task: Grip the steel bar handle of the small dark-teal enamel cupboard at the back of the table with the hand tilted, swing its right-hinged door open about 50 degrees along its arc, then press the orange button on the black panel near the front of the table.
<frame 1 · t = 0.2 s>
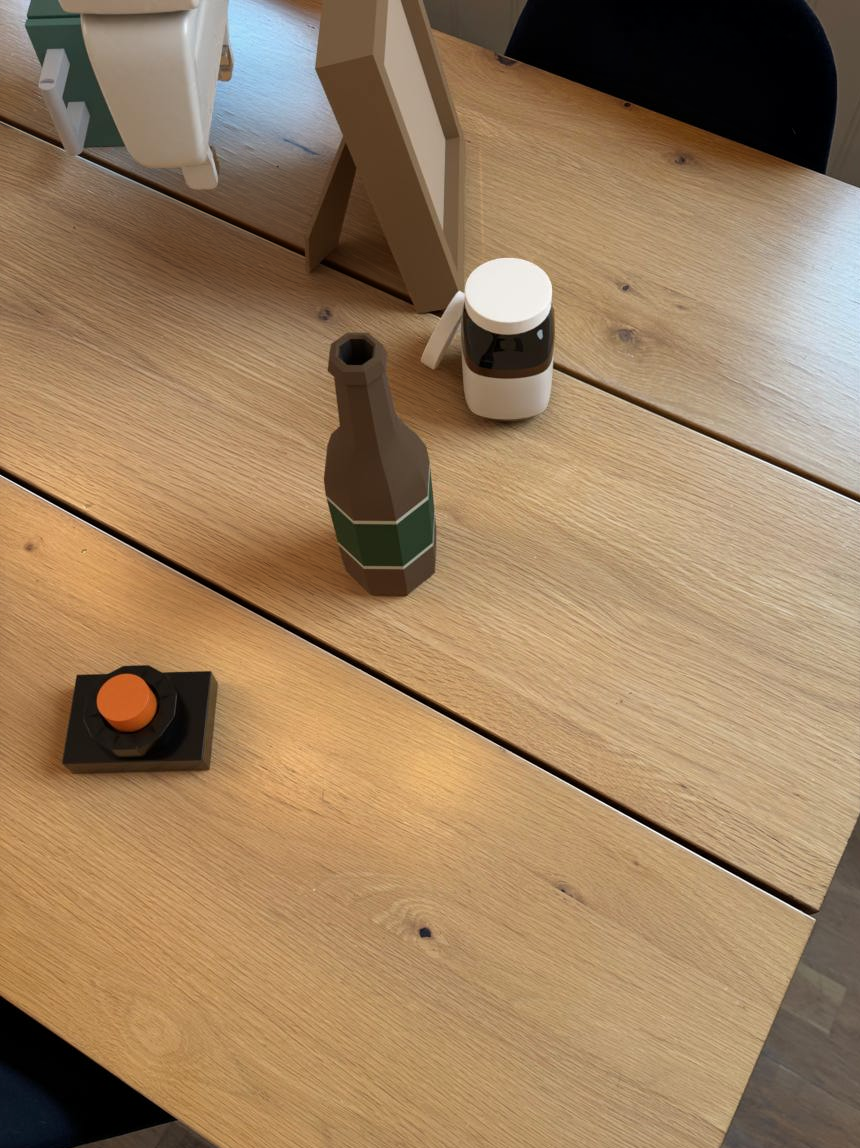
hand: (212, 125, 63), 30 cm above the table, tool pointing down, fingers open, 8 cm apart
minifridge: (146, 106, 110), on the table
spread jar: (486, 382, 92), on the table
beer bottle: (392, 560, 84), on the table
orange button: (127, 702, 74), point 5 cm above the table, slide at 0.1 cm
photo frame: (387, 230, 101), on the table
button panel: (147, 727, 78), on the table
fridge door: (115, 104, 100), point 7 cm above the table, hinge at 0.0°
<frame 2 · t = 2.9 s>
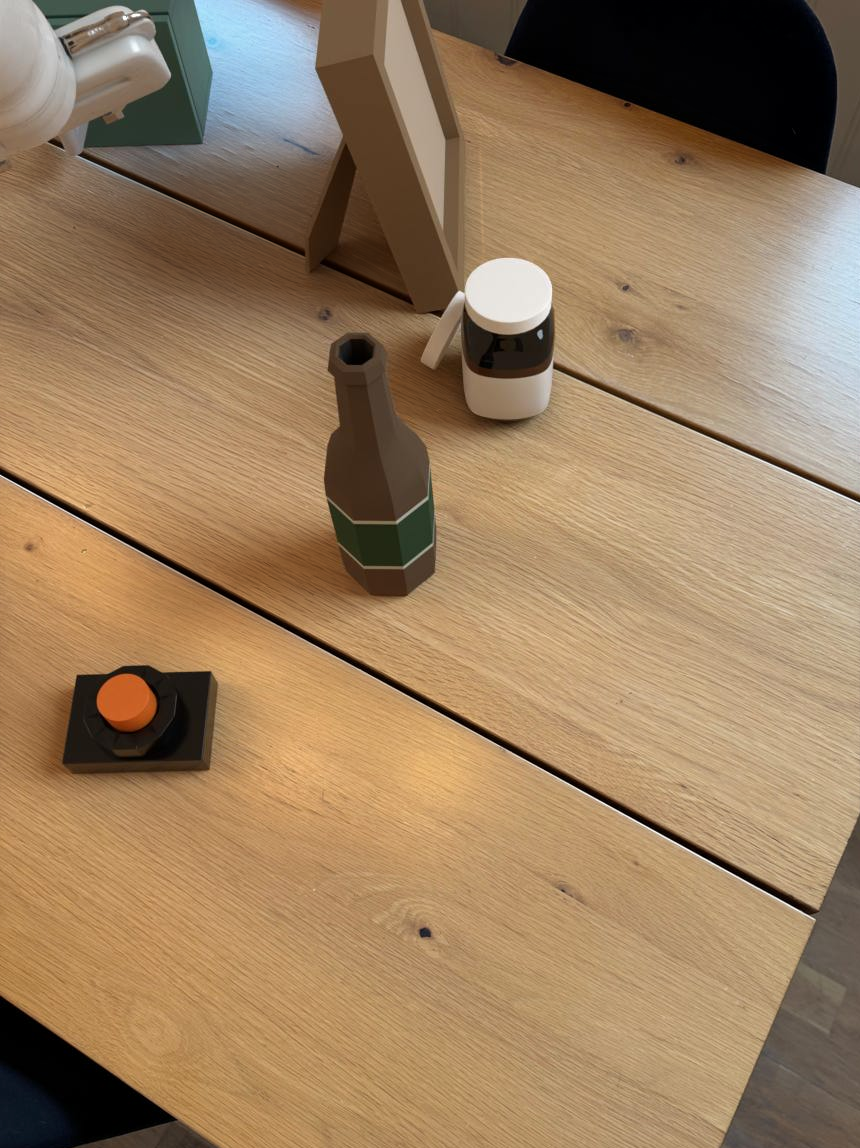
hand: (55, 136, 81), 18 cm above the table, tool tilted 35°, fingers open, 8 cm apart
nothing on the table moved.
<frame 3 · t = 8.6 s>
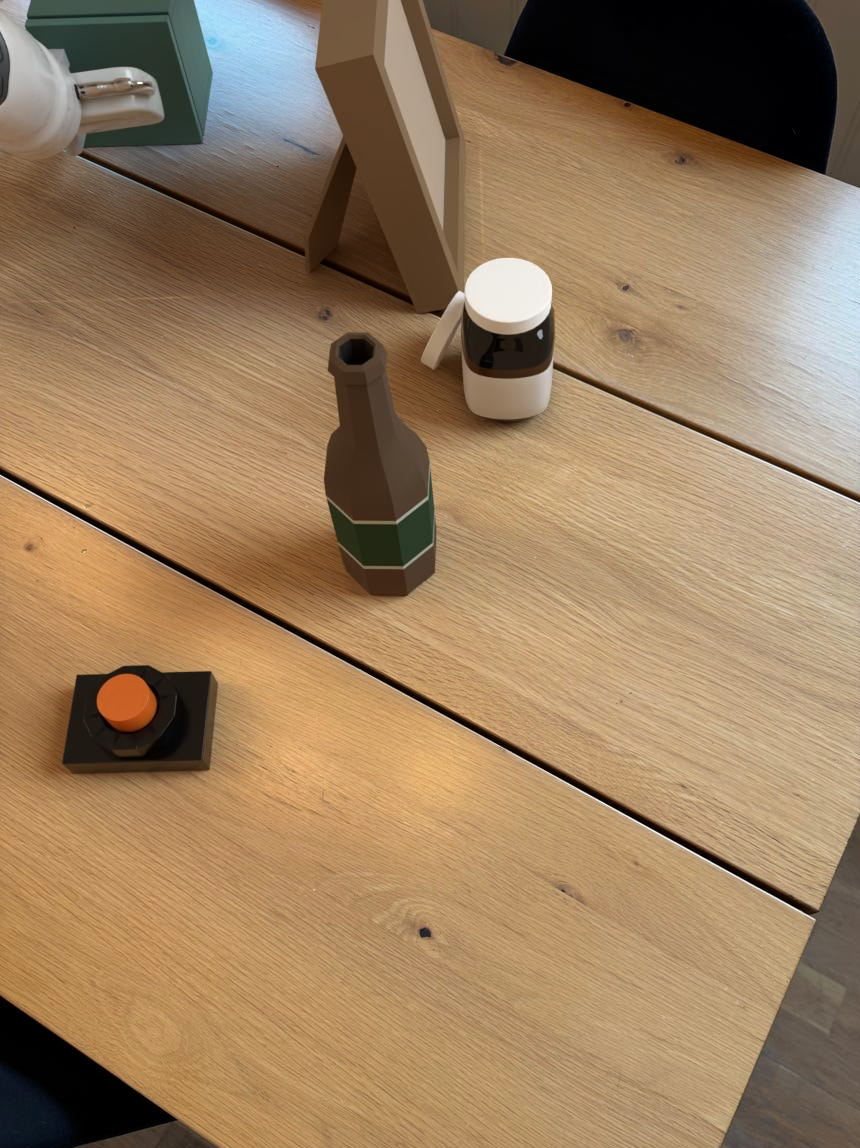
hand: (63, 126, 99), 6 cm above the table, tool tilted 45°, fingers closed on fridge door, 2 cm apart
fridge door: (115, 104, 100), point 6 cm above the table, hinge at 0.1°, touching gripper
everything else where it was.
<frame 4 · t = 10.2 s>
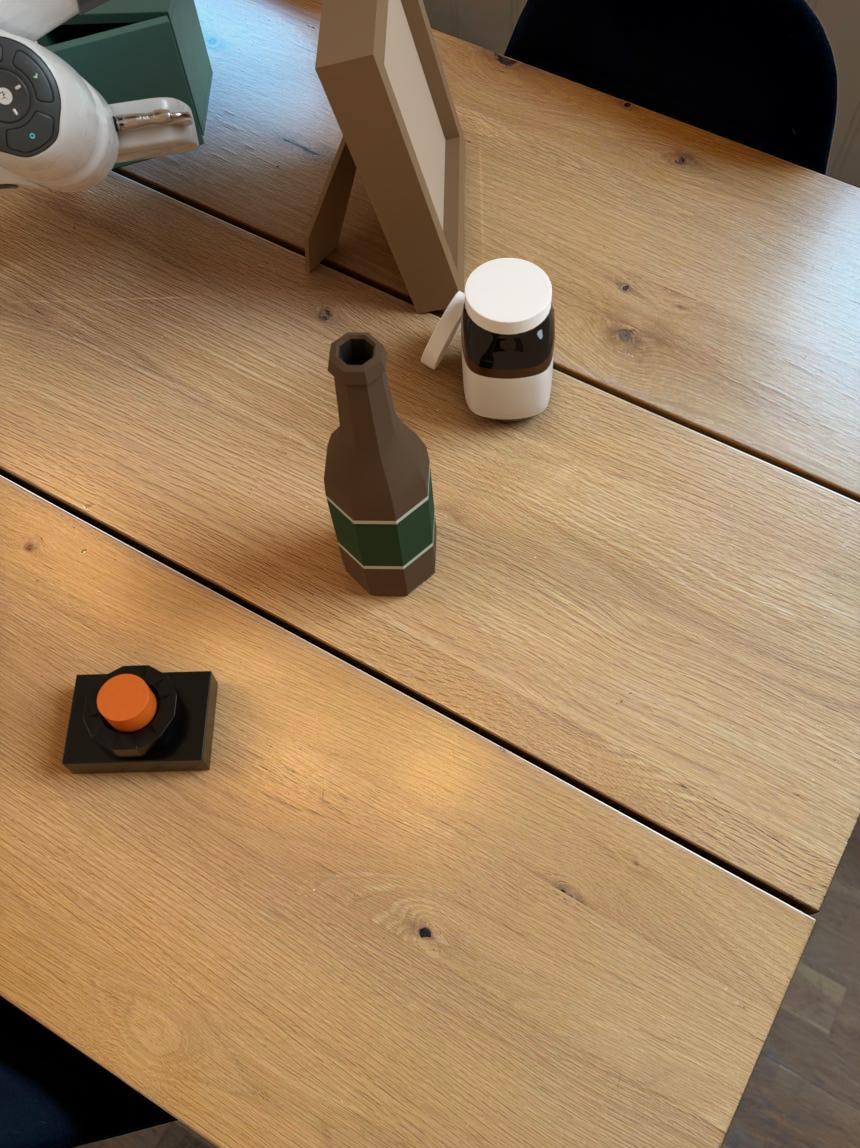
hand: (93, 153, 97), 6 cm above the table, tool tilted 45°, fingers open, 3 cm apart
fridge door: (127, 119, 99), point 6 cm above the table, hinge at 21.2°, touching gripper
everything else where it was.
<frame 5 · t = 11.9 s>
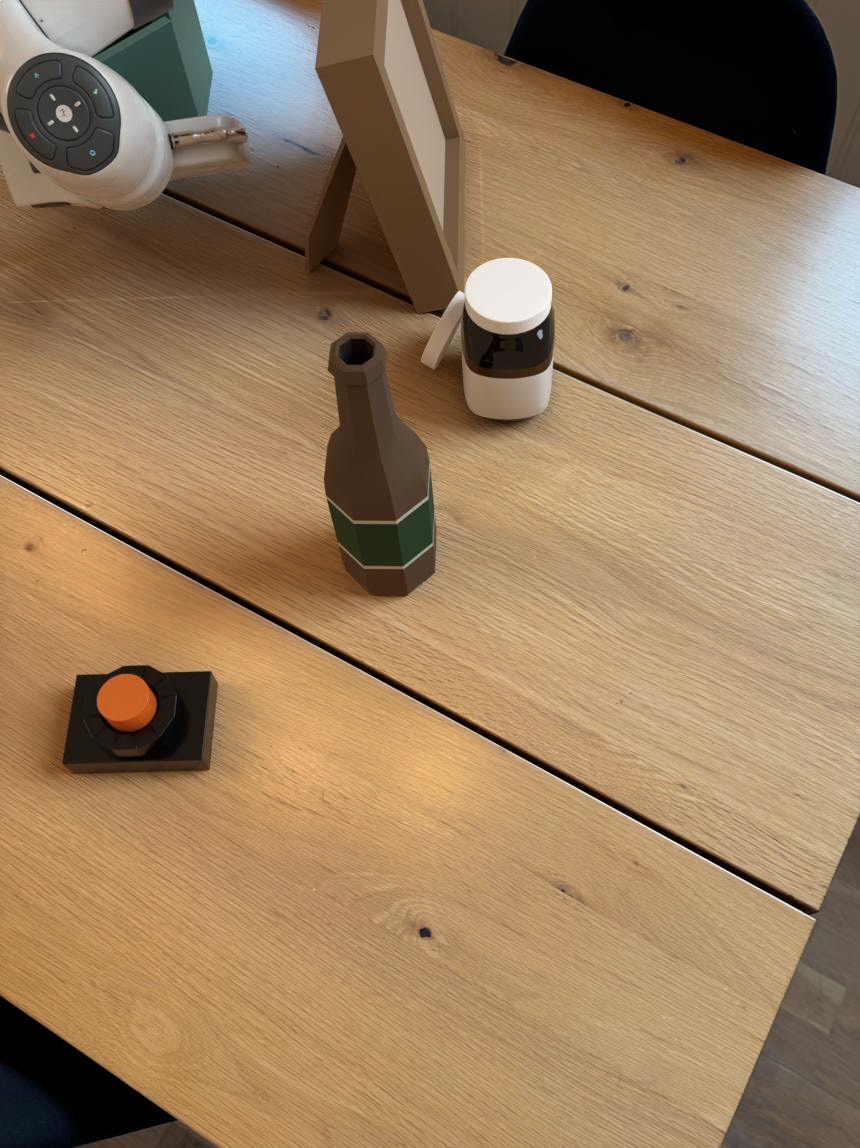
hand: (144, 170, 96), 6 cm above the table, tool tilted 45°, fingers open, 5 cm apart
fridge door: (151, 129, 98), point 7 cm above the table, hinge at 44.5°
everything else where it was.
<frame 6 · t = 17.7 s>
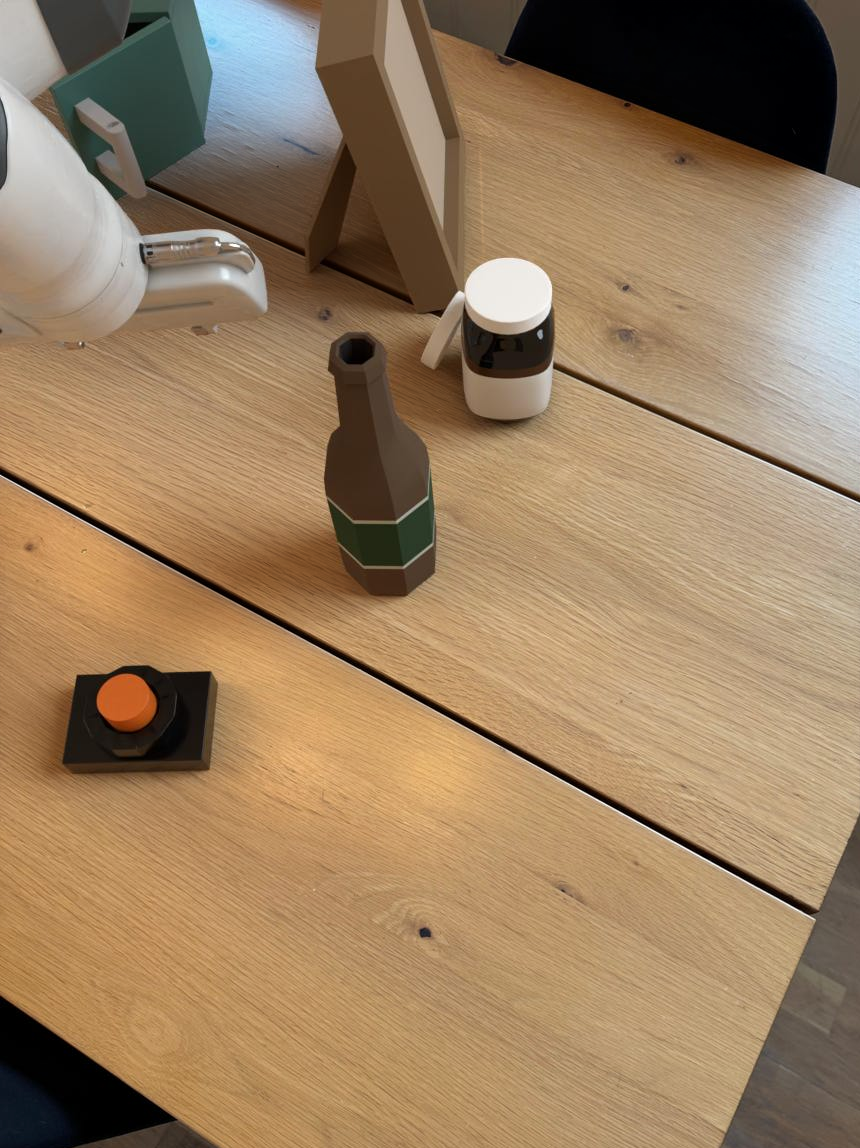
hand: (140, 331, 74), 16 cm above the table, tool tilted 25°, fingers open, 8 cm apart
nothing on the table moved.
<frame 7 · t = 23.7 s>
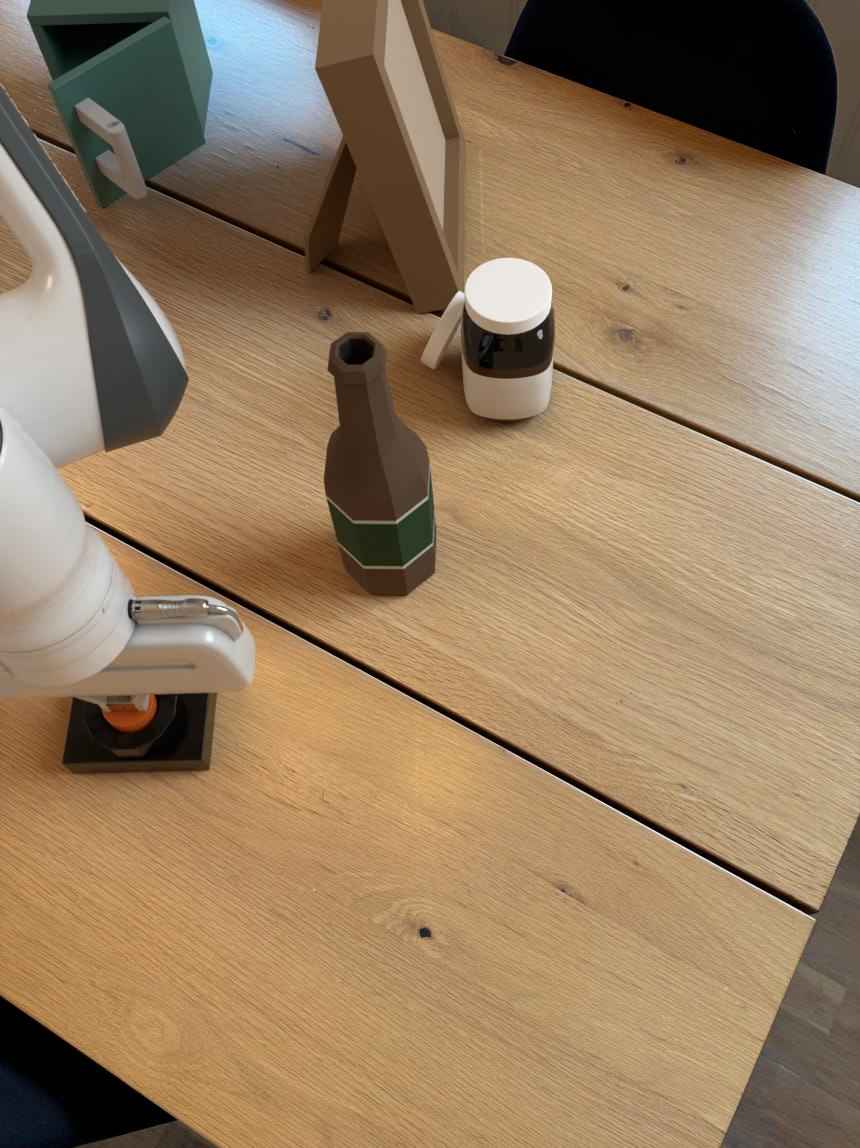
hand: (128, 701, 74), 5 cm above the table, tool pointing down, fingers closed, pressing on orange button
orange button: (131, 708, 75), point 4 cm above the table, slide at -0.9 cm, touching gripper
everything else where it was.
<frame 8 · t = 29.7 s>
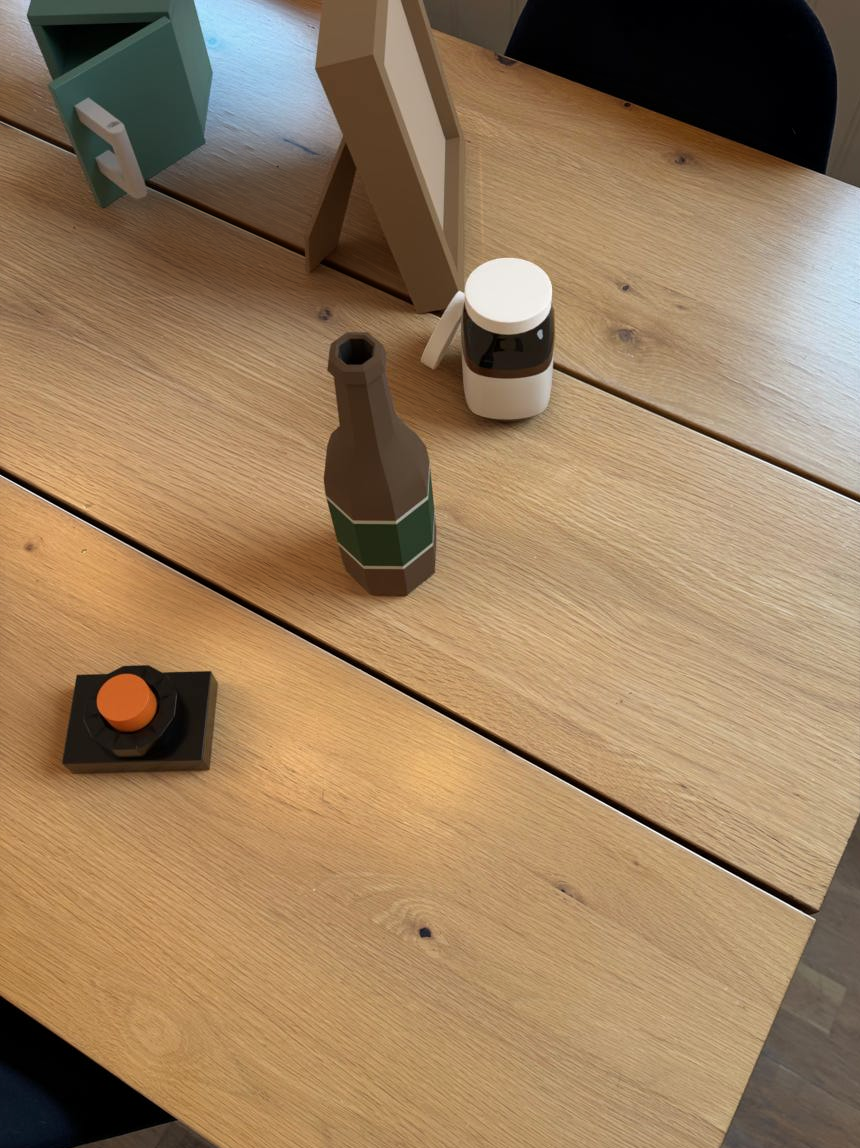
orange button: (127, 702, 74), point 5 cm above the table, slide at 0.1 cm
everything else where it was.
at the end: fridge door at +44° (first picture: +0°); orange button pushed in 1.1 cm at the most during the clip, back to where it started at the end; orange button slide at 0.1 cm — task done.
